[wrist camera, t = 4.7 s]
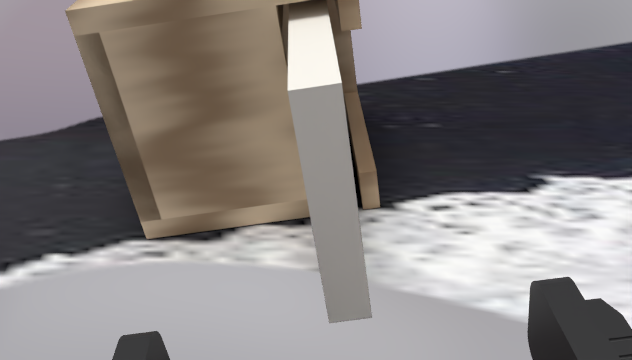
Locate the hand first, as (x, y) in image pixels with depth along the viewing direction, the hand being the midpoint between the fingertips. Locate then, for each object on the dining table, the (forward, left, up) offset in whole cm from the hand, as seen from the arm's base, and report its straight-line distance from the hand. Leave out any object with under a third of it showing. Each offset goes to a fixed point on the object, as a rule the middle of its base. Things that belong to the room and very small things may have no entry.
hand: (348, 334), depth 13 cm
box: (-4, +19, -6) cm, 21 cm away
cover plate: (0, +12, -7) cm, 14 cm away
